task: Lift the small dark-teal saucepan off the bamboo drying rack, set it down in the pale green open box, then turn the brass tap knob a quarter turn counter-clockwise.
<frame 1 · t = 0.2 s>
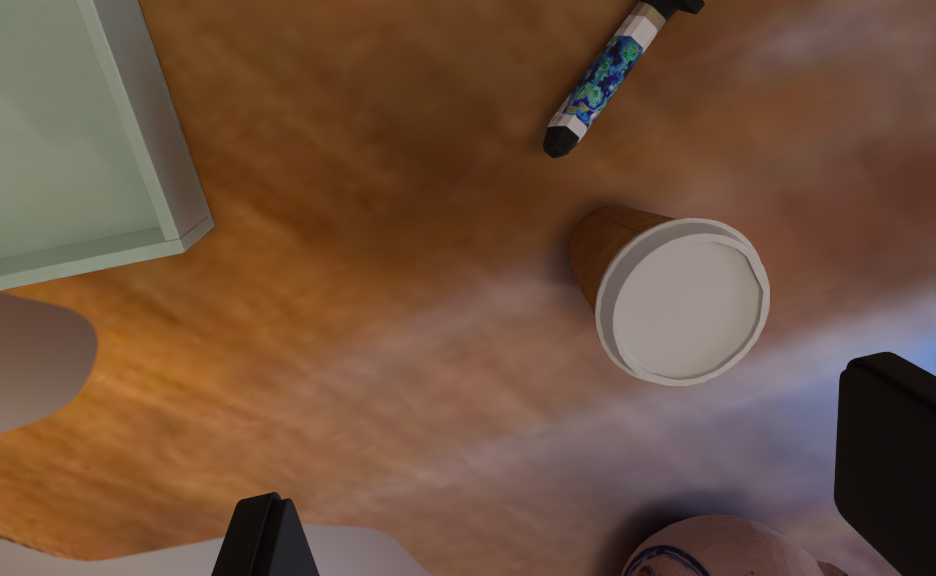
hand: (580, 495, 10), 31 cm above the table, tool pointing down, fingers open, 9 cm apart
pale green open box: (16, 92, 34), on the table
disposable coffee cup: (610, 248, 42), on the table
ceramic pitcher: (694, 544, 53), on the table
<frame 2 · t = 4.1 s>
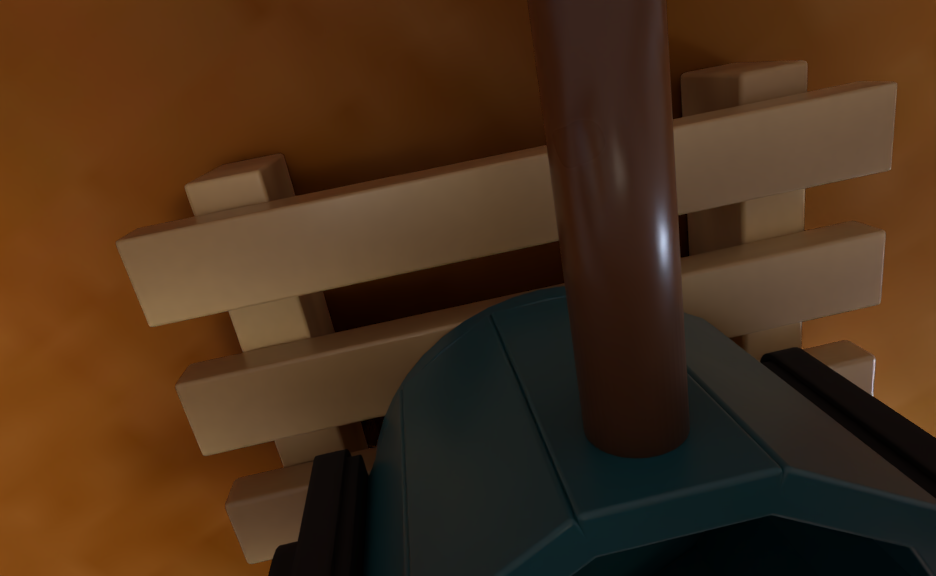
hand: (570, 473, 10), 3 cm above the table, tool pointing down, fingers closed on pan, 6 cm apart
pan: (564, 460, 11), point 3 cm above the table, touching gripper, rack
rack: (528, 381, 14), on the table
when the fingers open (5 cm above the table, at t = 19.8 s): pan stays where it is, resting on pale green open box.
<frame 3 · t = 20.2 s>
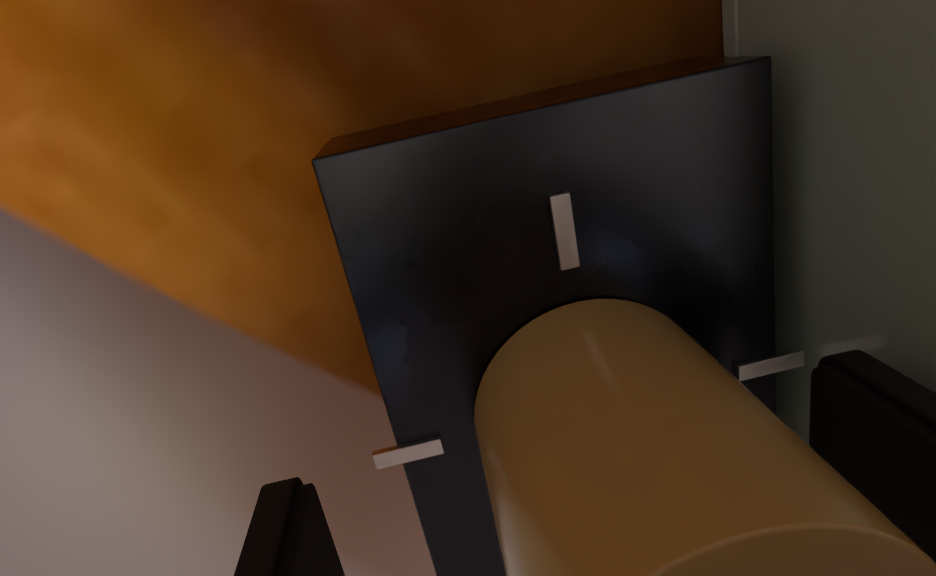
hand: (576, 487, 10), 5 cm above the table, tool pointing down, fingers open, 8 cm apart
black dial base: (553, 342, 15), on the table
tap knob: (652, 516, 9), point 6 cm above the table, hinge at 87.9°
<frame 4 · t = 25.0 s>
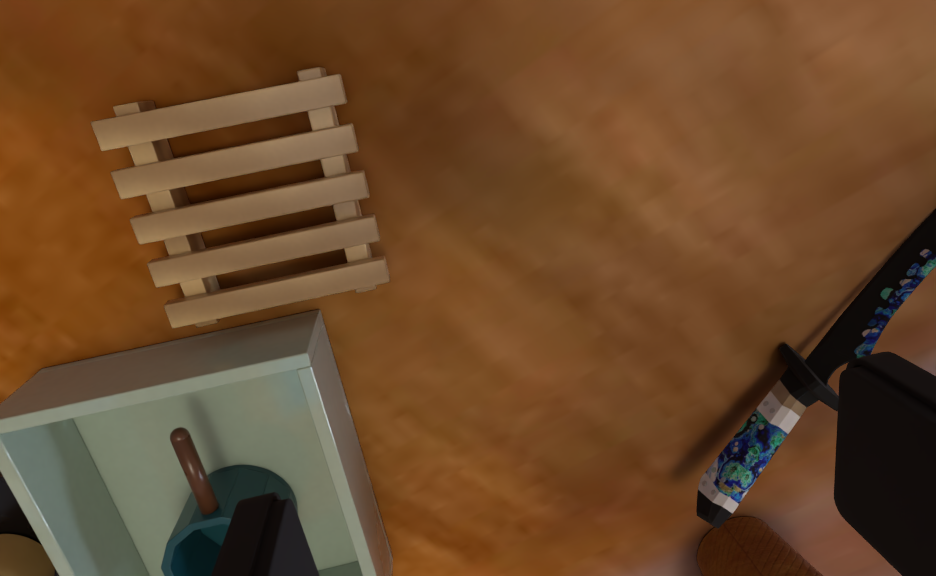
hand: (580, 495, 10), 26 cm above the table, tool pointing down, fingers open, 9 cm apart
pale green open box: (234, 471, 39), on the table
knife: (824, 322, 41), on the table
disposable coffee cup: (733, 546, 47), on the table
black dial base: (39, 529, 39), on the table
pan: (244, 507, 39), point 1 cm above the table, touching pale green open box
rack: (262, 197, 33), on the table
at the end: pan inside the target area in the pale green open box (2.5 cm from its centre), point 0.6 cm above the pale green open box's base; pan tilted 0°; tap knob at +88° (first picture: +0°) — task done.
